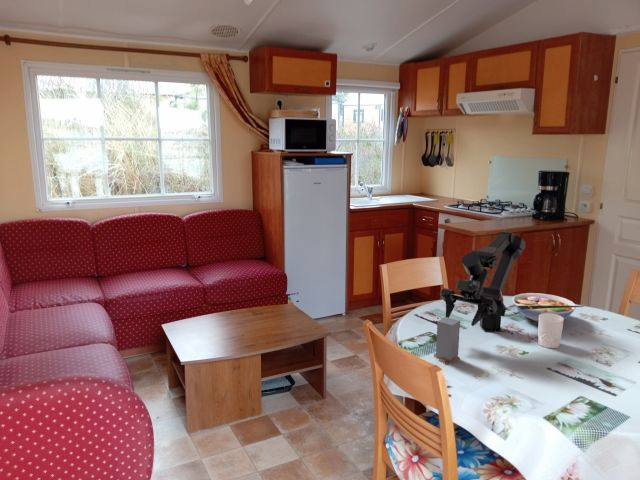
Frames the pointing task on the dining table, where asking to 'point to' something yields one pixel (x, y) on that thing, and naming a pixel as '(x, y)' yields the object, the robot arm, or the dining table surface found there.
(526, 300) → the ramen bowl
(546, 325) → the white cup
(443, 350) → the tall grey pillar
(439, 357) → the post plinth
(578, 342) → the dining table surface
